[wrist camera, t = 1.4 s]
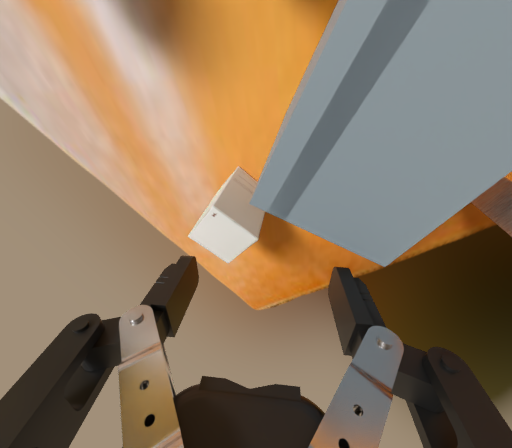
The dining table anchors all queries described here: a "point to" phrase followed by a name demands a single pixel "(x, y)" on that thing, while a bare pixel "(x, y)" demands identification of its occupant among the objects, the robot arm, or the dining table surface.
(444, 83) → the coffee dispenser stand
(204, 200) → the dining table surface
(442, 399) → the robot arm
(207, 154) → the dining table surface
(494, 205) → the peg
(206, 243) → the supplement box
